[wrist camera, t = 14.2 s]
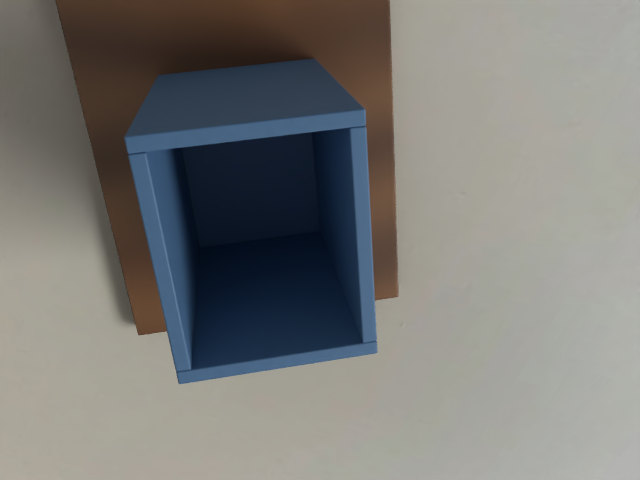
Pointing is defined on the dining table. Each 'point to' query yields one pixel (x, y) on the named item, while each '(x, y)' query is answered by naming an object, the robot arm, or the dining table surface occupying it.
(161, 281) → the blue bin
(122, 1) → the brown wooden flat board
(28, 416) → the dining table surface
